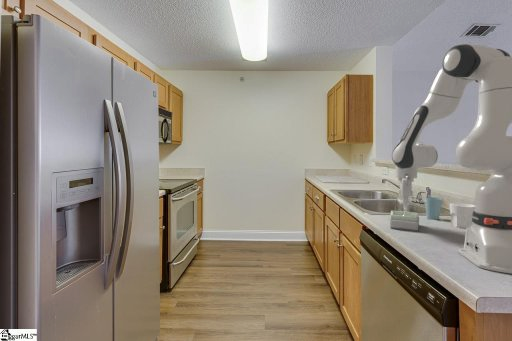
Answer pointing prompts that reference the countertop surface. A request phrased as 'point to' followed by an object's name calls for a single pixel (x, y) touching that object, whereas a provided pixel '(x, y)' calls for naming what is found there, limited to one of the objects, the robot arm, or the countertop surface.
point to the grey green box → (399, 216)
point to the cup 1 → (433, 207)
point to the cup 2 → (461, 214)
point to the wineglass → (400, 200)
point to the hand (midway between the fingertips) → (404, 204)
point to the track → (404, 225)
